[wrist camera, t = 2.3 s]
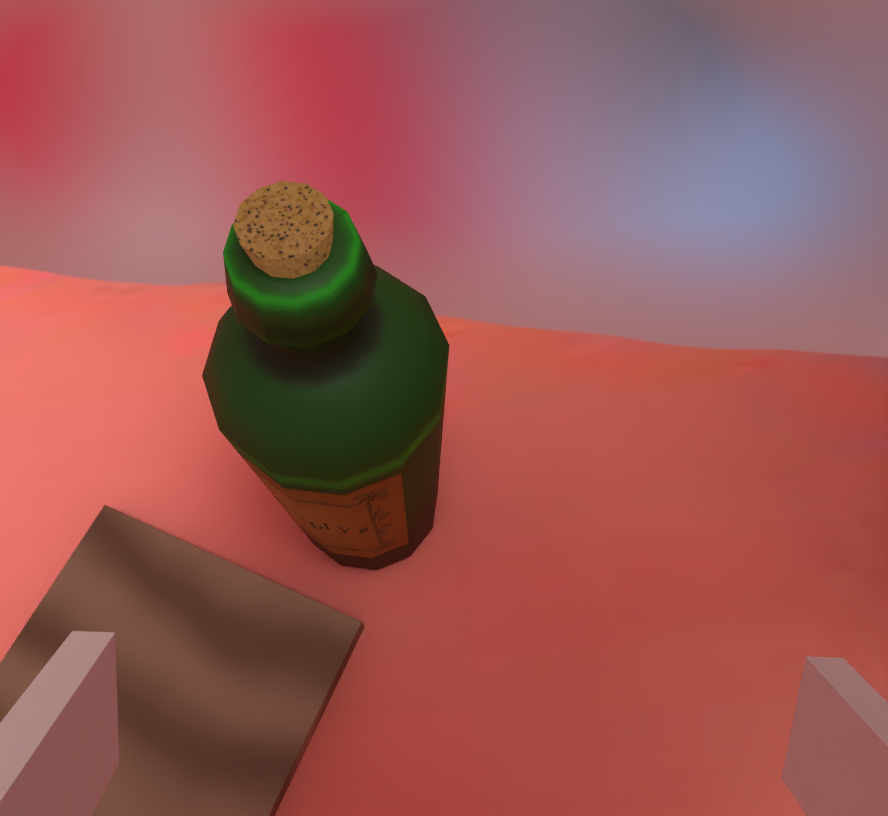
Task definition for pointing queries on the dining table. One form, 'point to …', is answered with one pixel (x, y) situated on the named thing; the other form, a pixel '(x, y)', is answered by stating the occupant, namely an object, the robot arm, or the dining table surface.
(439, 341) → the bottle
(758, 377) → the dining table surface
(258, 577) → the walnut board
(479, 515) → the dining table surface
